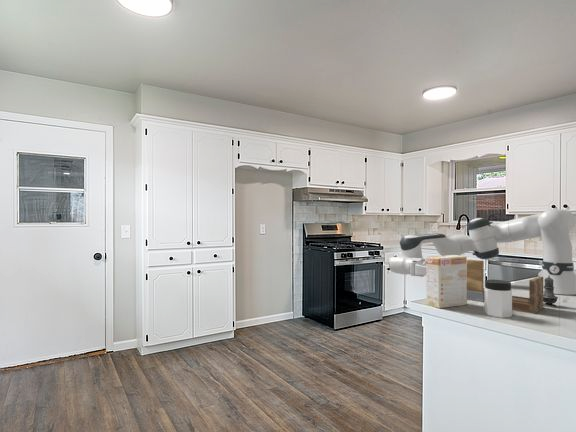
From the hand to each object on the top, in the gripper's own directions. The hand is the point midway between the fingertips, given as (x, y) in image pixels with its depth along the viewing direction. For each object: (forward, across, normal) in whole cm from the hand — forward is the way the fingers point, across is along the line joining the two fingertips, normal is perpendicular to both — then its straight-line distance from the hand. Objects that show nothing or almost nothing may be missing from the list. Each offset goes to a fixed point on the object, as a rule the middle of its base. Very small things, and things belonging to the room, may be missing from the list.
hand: (448, 270), depth 165 cm
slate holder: (+11, 0, -11) cm, 15 cm away
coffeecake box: (+8, +20, -11) cm, 24 cm away
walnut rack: (+29, +3, -11) cm, 31 cm away
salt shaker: (+36, -9, -11) cm, 39 cm away
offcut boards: (+28, +5, -11) cm, 30 cm away
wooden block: (+11, 0, -10) cm, 15 cm away
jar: (+27, +21, -11) cm, 36 cm away
